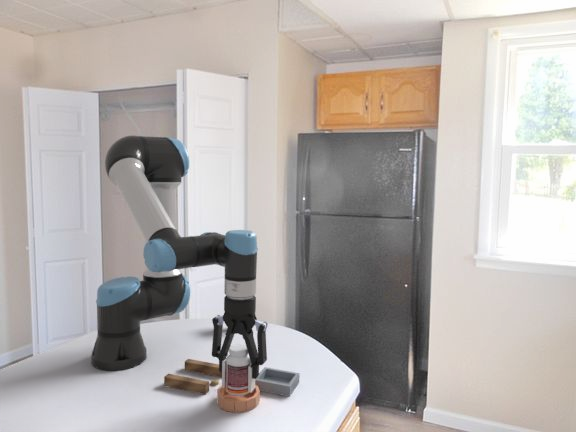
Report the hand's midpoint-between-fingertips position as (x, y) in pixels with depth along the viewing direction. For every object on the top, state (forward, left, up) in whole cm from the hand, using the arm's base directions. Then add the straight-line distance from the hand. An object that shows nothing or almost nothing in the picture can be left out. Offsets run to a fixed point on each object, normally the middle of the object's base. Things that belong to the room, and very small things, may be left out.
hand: (238, 387), depth 114 cm
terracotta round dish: (0, 0, -4) cm, 4 cm away
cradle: (-15, +6, -4) cm, 17 cm away
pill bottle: (0, 0, -1) cm, 1 cm away
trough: (+6, +11, -4) cm, 13 cm away
